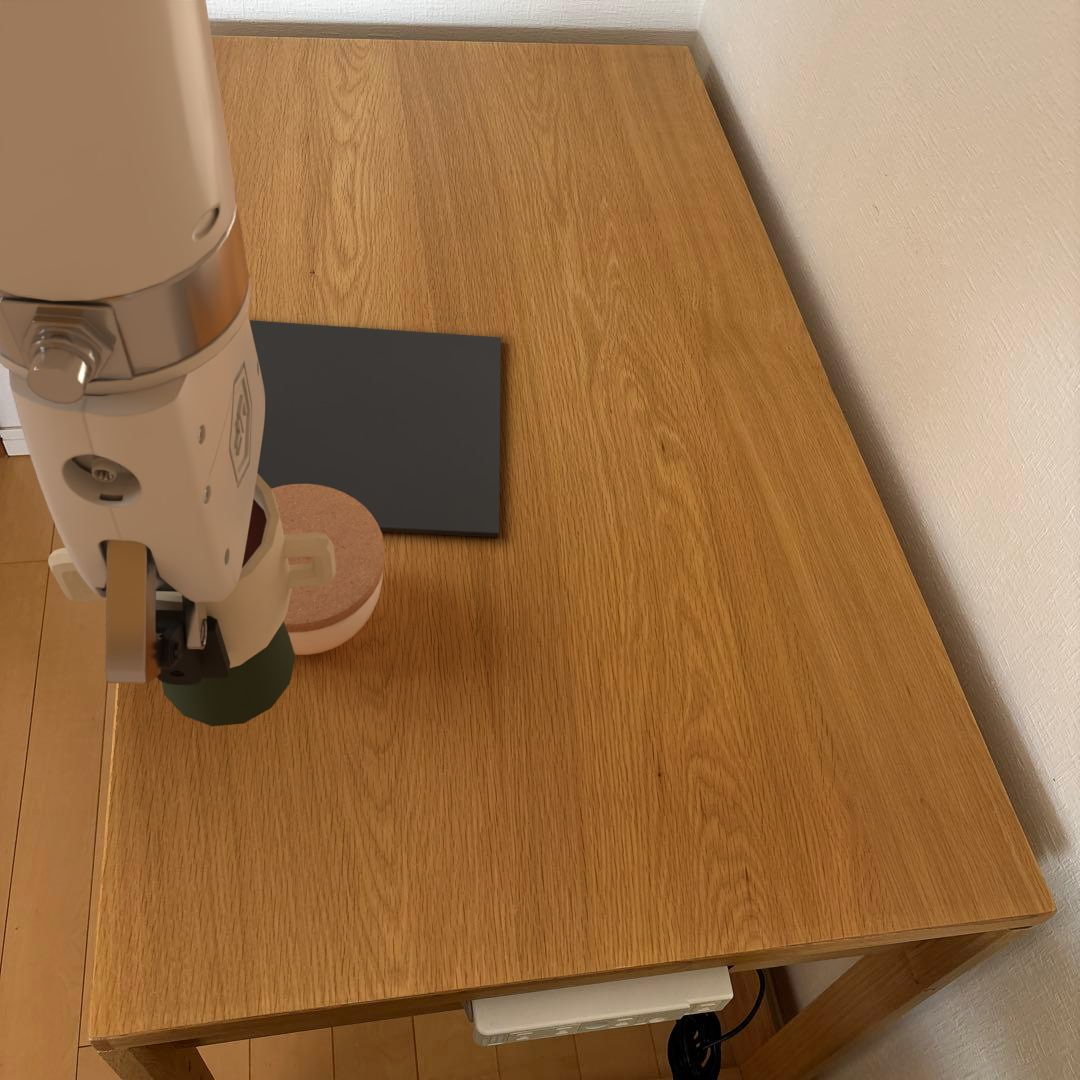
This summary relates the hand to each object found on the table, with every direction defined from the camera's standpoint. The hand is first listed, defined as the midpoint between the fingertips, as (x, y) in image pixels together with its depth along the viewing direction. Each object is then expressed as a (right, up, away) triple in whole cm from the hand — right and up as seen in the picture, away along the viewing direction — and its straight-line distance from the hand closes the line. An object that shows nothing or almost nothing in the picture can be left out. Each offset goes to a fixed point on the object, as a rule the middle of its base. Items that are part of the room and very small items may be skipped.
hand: (204, 583), depth 43 cm
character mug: (-1, -5, +7) cm, 8 cm away
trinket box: (-2, -3, +29) cm, 29 cm away
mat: (0, +11, +38) cm, 40 cm away
